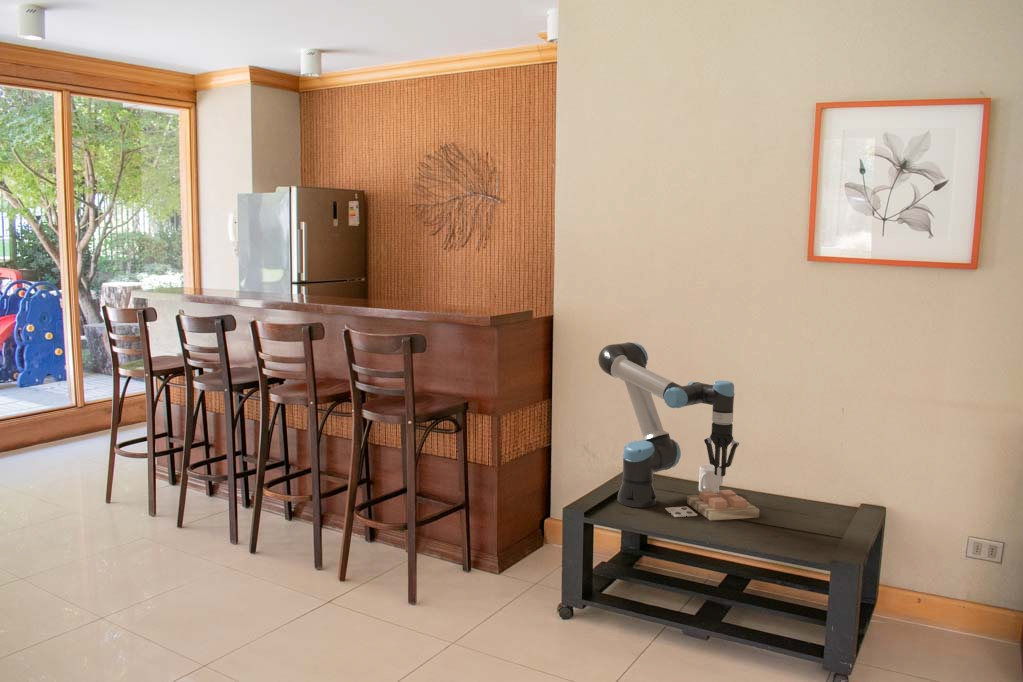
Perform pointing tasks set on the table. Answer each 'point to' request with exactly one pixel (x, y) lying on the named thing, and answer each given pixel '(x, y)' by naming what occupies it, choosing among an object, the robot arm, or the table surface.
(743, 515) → the board
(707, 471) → the cup
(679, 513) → the card
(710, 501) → the button
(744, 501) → the button
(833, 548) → the table surface
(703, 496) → the button
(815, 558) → the table surface
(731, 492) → the button
